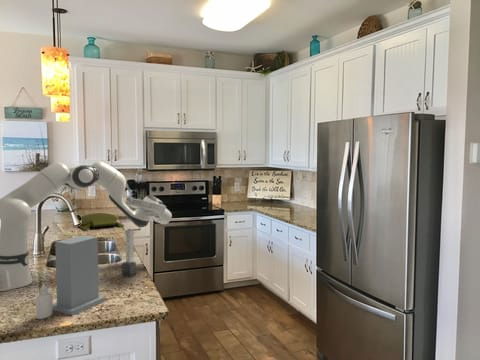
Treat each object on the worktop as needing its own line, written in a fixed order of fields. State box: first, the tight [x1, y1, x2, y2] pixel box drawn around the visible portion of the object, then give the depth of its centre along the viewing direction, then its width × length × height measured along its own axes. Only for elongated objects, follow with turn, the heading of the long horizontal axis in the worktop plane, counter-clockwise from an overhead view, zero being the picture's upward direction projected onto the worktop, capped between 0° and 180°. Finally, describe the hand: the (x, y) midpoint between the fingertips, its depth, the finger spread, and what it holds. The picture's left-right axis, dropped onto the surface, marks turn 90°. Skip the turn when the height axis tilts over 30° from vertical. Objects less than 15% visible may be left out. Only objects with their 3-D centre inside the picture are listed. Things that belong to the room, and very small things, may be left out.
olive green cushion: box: [78, 212, 125, 231], centre depth 313 cm, size 35×31×10 cm
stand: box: [52, 235, 106, 316], centre depth 151 cm, size 16×12×26 cm
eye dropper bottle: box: [35, 283, 54, 320], centre depth 141 cm, size 4×6×12 cm
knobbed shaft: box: [121, 229, 137, 278], centre depth 189 cm, size 22×5×4 cm
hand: (135, 200), depth 189 cm, fingers open, 8 cm apart
